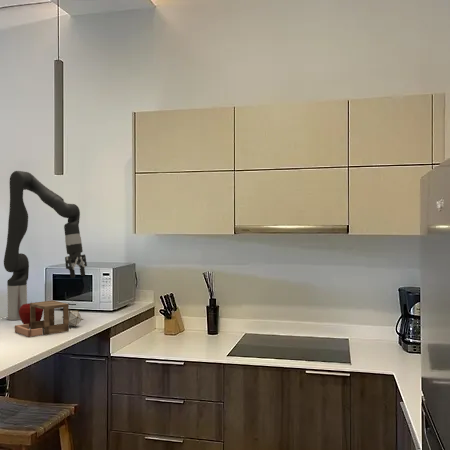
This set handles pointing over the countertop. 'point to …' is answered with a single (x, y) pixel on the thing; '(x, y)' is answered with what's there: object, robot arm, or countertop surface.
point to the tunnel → (49, 317)
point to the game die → (74, 318)
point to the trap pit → (28, 331)
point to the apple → (25, 313)
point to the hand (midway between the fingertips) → (78, 276)
